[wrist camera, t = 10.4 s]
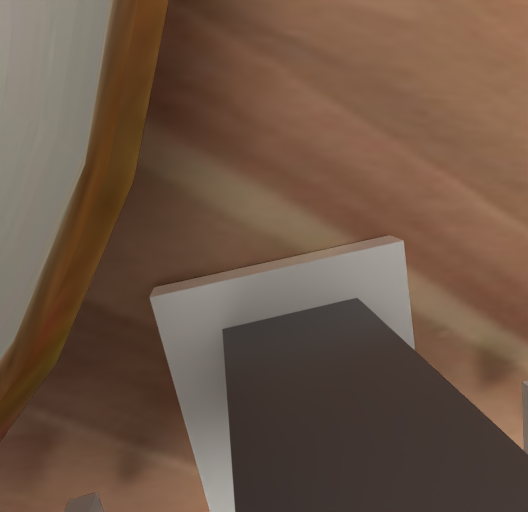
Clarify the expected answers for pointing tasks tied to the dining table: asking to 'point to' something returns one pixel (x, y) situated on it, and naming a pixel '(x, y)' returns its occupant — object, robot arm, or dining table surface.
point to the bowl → (63, 165)
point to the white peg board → (258, 308)
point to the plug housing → (357, 422)
